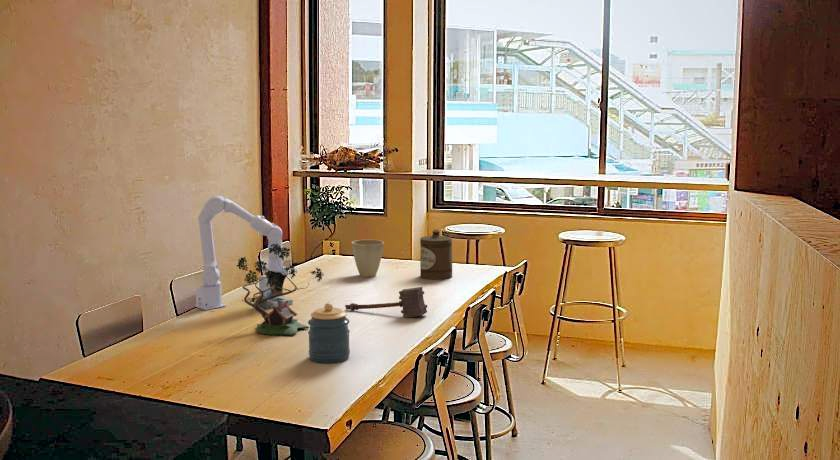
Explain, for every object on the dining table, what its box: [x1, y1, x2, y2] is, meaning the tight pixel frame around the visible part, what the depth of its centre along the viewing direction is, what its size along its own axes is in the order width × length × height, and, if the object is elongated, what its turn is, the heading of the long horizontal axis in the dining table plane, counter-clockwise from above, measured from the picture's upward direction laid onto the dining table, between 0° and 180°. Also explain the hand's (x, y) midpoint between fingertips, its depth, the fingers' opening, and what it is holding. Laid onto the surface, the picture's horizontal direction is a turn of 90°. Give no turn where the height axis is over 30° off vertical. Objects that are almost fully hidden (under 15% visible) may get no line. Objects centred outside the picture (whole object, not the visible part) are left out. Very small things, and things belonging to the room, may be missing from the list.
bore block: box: [267, 296, 294, 309], centre depth 341 cm, size 9×9×2 cm
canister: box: [307, 302, 351, 364], centre depth 268 cm, size 13×13×18 cm
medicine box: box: [258, 274, 272, 298], centre depth 358 cm, size 8×4×9 cm, turn 143°
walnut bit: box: [270, 280, 284, 296], centre depth 340 cm, size 3×3×6 cm
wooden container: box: [419, 229, 453, 281], centre depth 395 cm, size 15×15×22 cm
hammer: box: [344, 286, 428, 319], centre depth 326 cm, size 7×33×10 cm, turn 69°
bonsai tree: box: [235, 243, 325, 337], centre depth 296 cm, size 35×24×32 cm
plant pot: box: [351, 239, 385, 278], centre depth 397 cm, size 15×15×16 cm
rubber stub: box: [258, 297, 268, 311], centre depth 334 cm, size 3×3×4 cm
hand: (276, 290), depth 341 cm, fingers closed on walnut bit, 3 cm apart
